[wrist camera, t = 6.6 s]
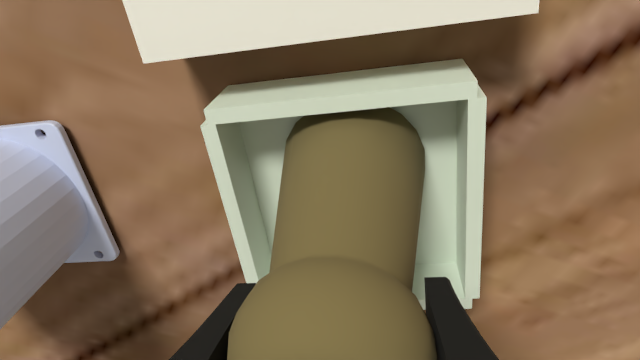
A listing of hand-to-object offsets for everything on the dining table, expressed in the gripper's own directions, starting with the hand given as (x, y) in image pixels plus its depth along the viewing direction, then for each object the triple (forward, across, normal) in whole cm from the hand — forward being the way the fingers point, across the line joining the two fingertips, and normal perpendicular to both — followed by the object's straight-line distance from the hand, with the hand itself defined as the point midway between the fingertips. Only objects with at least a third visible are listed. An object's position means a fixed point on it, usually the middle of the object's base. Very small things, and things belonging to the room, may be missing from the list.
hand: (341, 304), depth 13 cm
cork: (+7, 0, -1) cm, 7 cm away
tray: (+8, 0, 0) cm, 8 cm away
